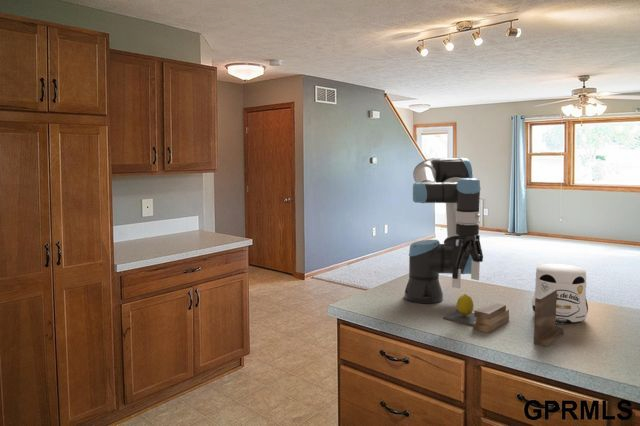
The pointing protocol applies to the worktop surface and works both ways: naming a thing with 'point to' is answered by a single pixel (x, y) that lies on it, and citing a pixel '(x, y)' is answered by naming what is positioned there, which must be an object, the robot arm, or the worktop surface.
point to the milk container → (564, 290)
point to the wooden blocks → (543, 320)
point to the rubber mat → (461, 318)
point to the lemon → (465, 305)
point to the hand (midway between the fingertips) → (465, 283)
